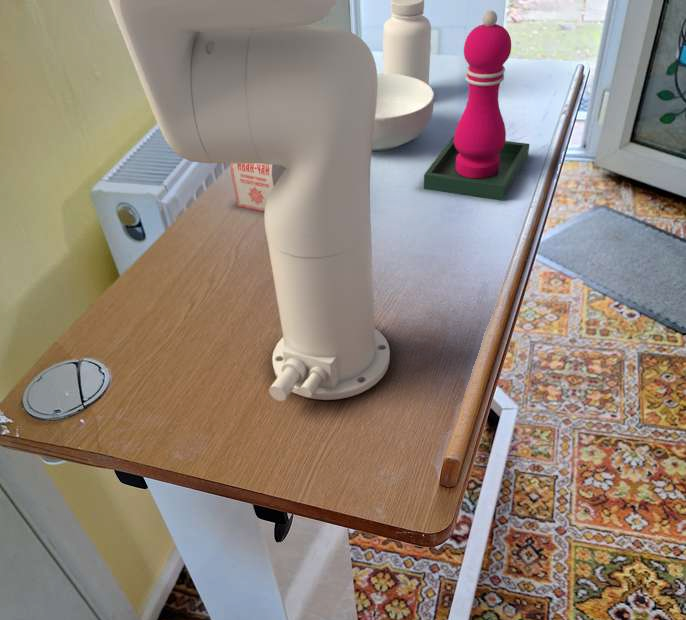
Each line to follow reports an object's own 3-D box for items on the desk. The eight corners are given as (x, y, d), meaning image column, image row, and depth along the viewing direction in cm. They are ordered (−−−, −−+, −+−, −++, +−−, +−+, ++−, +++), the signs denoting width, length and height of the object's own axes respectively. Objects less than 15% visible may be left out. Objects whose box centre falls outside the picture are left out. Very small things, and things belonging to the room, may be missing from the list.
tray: (502, 200, 93) (504, 186, 91) (423, 188, 96) (424, 174, 95) (527, 157, 101) (529, 143, 99) (453, 148, 104) (454, 134, 103)
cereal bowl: (313, 160, 105) (309, 113, 99) (343, 116, 115) (341, 71, 110) (420, 168, 101) (421, 119, 95) (441, 122, 111) (443, 75, 106)
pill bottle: (430, 106, 116) (433, 4, 104) (383, 109, 116) (382, 8, 105) (427, 88, 121) (430, -10, 110) (382, 91, 121) (381, -7, 110)
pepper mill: (500, 181, 95) (519, 20, 80) (449, 180, 96) (458, 20, 81) (503, 158, 100) (521, 1, 85) (454, 157, 101) (463, 2, 86)
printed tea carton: (251, 194, 99) (239, 124, 91) (290, 202, 96) (281, 130, 89) (237, 205, 97) (224, 135, 89) (277, 214, 94) (267, 142, 87)
